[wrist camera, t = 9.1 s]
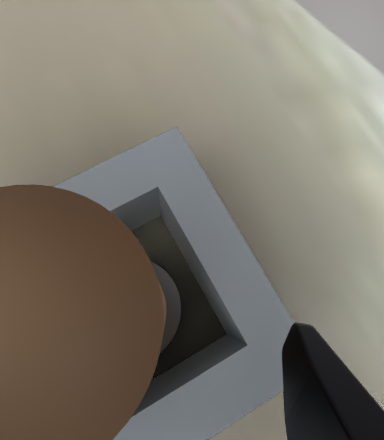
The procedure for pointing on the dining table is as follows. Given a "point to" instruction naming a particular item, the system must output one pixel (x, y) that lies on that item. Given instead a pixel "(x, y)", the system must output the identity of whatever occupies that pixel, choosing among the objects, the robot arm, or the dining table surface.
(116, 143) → the dining table surface
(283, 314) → the tool holder
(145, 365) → the cleaning tool
